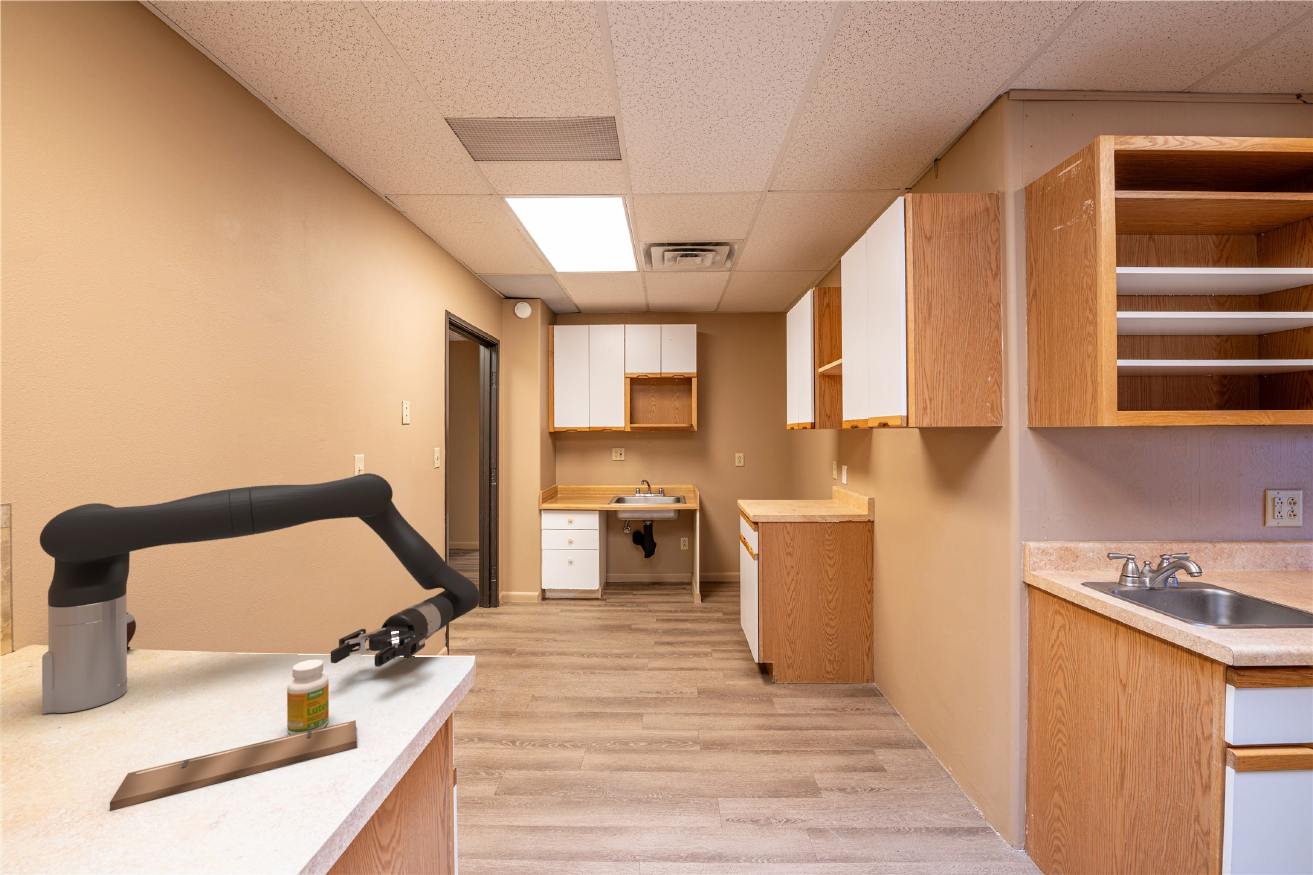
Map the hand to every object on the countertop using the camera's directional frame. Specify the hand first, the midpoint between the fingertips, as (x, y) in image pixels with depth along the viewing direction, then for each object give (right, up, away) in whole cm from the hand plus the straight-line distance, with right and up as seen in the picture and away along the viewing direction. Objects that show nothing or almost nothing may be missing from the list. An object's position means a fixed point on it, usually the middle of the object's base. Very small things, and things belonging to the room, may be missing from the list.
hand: (354, 659), depth 93 cm
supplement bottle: (-2, -7, -9) cm, 12 cm away
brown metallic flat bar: (-4, -7, -18) cm, 20 cm away
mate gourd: (-60, -7, +18) cm, 63 cm away
